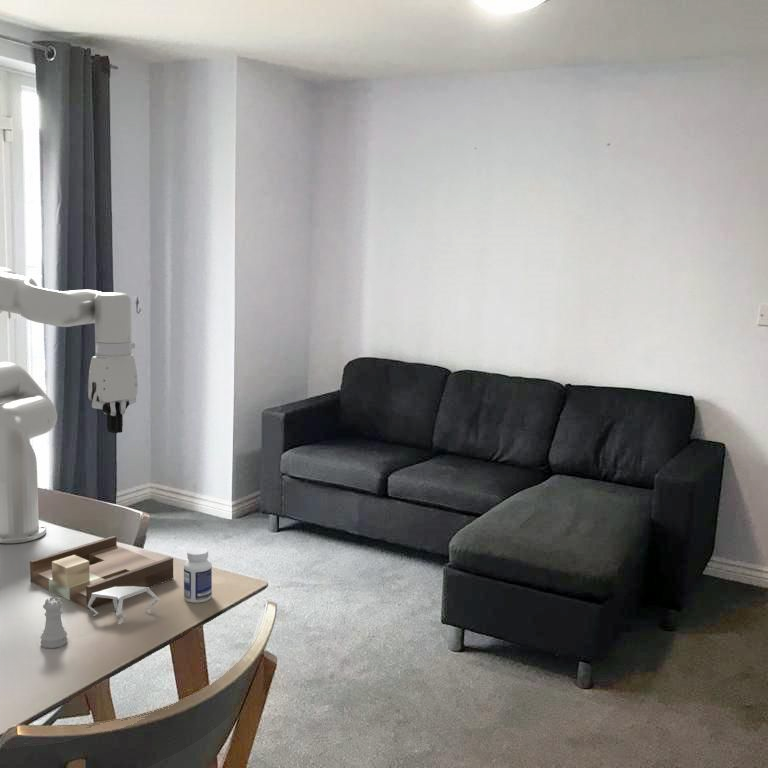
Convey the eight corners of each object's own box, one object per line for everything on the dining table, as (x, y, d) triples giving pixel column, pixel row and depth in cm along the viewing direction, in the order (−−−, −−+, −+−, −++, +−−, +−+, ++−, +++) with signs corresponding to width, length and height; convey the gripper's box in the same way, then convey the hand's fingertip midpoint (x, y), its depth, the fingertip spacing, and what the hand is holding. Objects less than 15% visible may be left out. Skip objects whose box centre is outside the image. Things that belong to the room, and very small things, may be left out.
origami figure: (100, 632, 155) (100, 606, 154) (86, 614, 161) (86, 589, 161) (164, 616, 162) (164, 592, 161) (148, 600, 168) (148, 577, 168)
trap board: (30, 581, 175) (30, 560, 174) (113, 555, 191) (113, 535, 190) (89, 609, 163) (89, 587, 162) (173, 578, 179) (173, 558, 178)
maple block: (52, 581, 170) (51, 561, 169) (74, 573, 174) (74, 554, 173) (67, 587, 167) (66, 568, 166) (89, 580, 171) (89, 560, 170)
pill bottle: (215, 593, 173) (215, 547, 171) (207, 604, 167) (207, 556, 166) (189, 591, 173) (188, 545, 172) (180, 602, 168) (179, 554, 166)
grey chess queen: (40, 651, 147) (39, 607, 145) (39, 639, 151) (38, 596, 149) (68, 647, 148) (67, 603, 147) (66, 636, 153) (65, 593, 151)
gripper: (131, 345, 195) (132, 424, 198) (73, 350, 183) (75, 434, 187) (152, 348, 191) (153, 429, 194) (94, 354, 179) (95, 440, 182)
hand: (114, 431), depth 190 cm, fingers closed
